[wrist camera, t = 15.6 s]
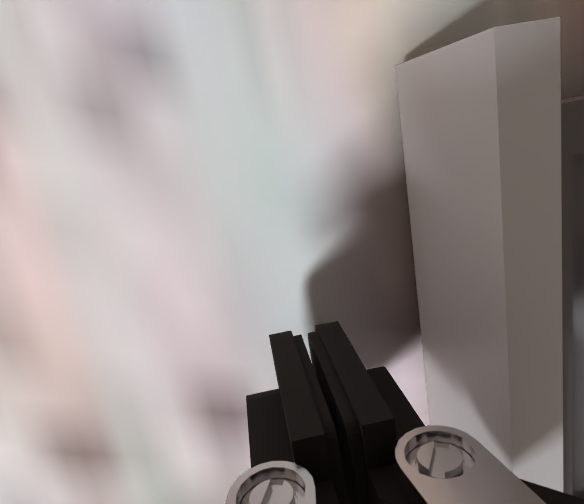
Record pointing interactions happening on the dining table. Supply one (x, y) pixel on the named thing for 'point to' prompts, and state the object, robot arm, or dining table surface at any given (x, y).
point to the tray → (500, 245)
